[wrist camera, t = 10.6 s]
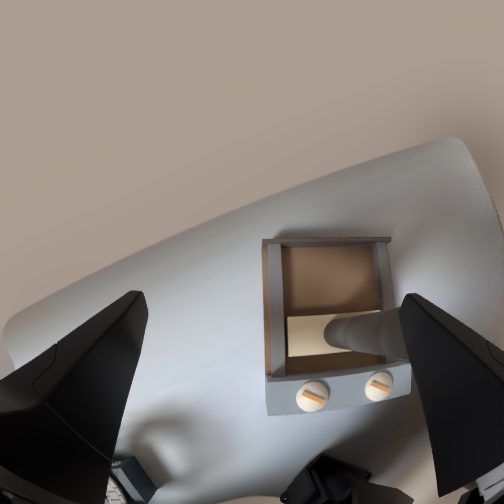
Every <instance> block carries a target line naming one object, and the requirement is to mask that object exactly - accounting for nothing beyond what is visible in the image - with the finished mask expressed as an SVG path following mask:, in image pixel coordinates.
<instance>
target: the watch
mask: <svg viewBox="0 0 504 504" xmlns="http://www.w3.org/2000/svg"><path fill="white" fill-rule="evenodd" d="M156 491H157V488H156V487H155V485H154V484H153V483H152V481H151V480H150V478H149V477H148V476H147V474H146V473H145V471H144V470H143V468H142V467H141V465H140V464H139V462H138V461H137V459H136V458H135V456H131V457H126V458H120V459H115V460H112V465H111V470H110V476H109V481H108V486H107V492H106V498H105V504H148V502H149V501H150V499H151V498H152V497H153V495H154V494H155V492H156Z"/></svg>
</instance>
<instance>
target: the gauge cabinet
mask: <svg viewBox="0 0 504 504" xmlns="http://www.w3.org/2000/svg"><path fill="white" fill-rule="evenodd" d="M265 385H266V406H267V412H268V416H274V415H290V414H302V413H312V412H320V411H328V410H335V409H342V408H348V407H354V406H359V405H364V404H369V403H374V402H379V401H383V400H388V399H392V398H396V397H400V396H404V395H407V394H411V364H410V363H406V362H400V361H396V363H391V364H381V363H378V364H372V365H366V366H360V367H353V368H346V369H338V370H329V371H320V372H310V373H297V374H285V377H274V378H272V377H271V375H266V374H265Z"/></svg>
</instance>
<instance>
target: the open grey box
mask: <svg viewBox="0 0 504 504" xmlns="http://www.w3.org/2000/svg"><path fill="white" fill-rule="evenodd" d="M390 241H391V237H350V238H290V239H262V273H263V305H264V342H265V374H266V375H271V377H272V378H274V377H285V374H297V373H310V372H320V371H329V370H338V369H346V368H353V367H360V366H366V365H372V364H378V363H381V364H391V363H396V357H390V356H383V355H376V354H370V353H364V352H358V351H347V352H339V353H329V354H319V355H307V356H293V357H288V356H287V330H286V317H299V316H315V315H330V314H342V313H354V312H364V311H374V310H380V311H384V310H389V309H394V299H393V289H392V280H391V271H390V264H389V256H388V250H387V243H389V242H390Z"/></svg>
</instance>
